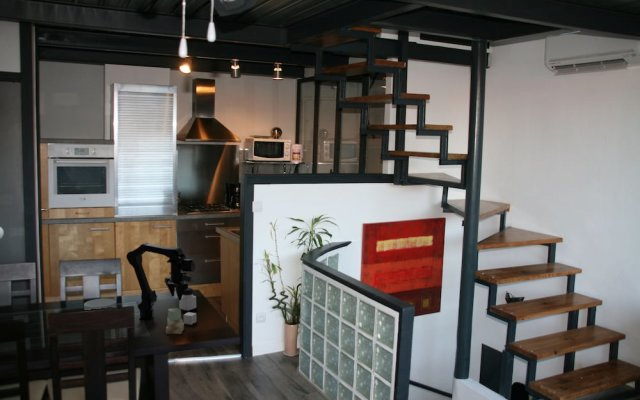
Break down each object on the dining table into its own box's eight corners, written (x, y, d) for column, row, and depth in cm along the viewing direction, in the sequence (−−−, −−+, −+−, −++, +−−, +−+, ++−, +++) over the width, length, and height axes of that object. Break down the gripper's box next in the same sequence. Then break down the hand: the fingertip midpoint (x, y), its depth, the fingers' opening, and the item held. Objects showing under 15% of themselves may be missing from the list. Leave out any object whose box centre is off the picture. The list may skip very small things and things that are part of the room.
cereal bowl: (113, 308, 344) (113, 296, 344) (118, 316, 330) (117, 304, 329) (83, 312, 337) (82, 300, 336) (85, 320, 322) (85, 308, 321)
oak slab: (165, 334, 304) (165, 328, 304) (168, 329, 312) (168, 323, 312) (181, 334, 305) (181, 328, 304) (183, 329, 313) (183, 322, 312)
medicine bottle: (196, 307, 348) (196, 288, 347) (187, 310, 342) (187, 290, 341) (187, 305, 352) (187, 286, 351) (179, 308, 346) (178, 288, 345)
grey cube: (183, 323, 320) (183, 314, 320) (188, 320, 325) (188, 312, 325) (191, 324, 319) (191, 315, 318) (196, 321, 324) (196, 313, 323)
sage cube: (181, 319, 308) (180, 309, 307) (172, 320, 304) (171, 311, 304) (177, 316, 311) (176, 307, 311) (168, 318, 308) (167, 309, 308)
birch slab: (169, 328, 303) (168, 322, 303) (167, 324, 310) (167, 317, 309) (182, 327, 306) (182, 320, 306) (180, 322, 312) (180, 316, 312)
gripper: (197, 272, 318) (197, 299, 320) (182, 265, 333) (182, 291, 335) (177, 274, 312) (178, 303, 314) (163, 267, 326) (164, 295, 328)
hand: (176, 298), depth 323 cm, fingers open, 9 cm apart
